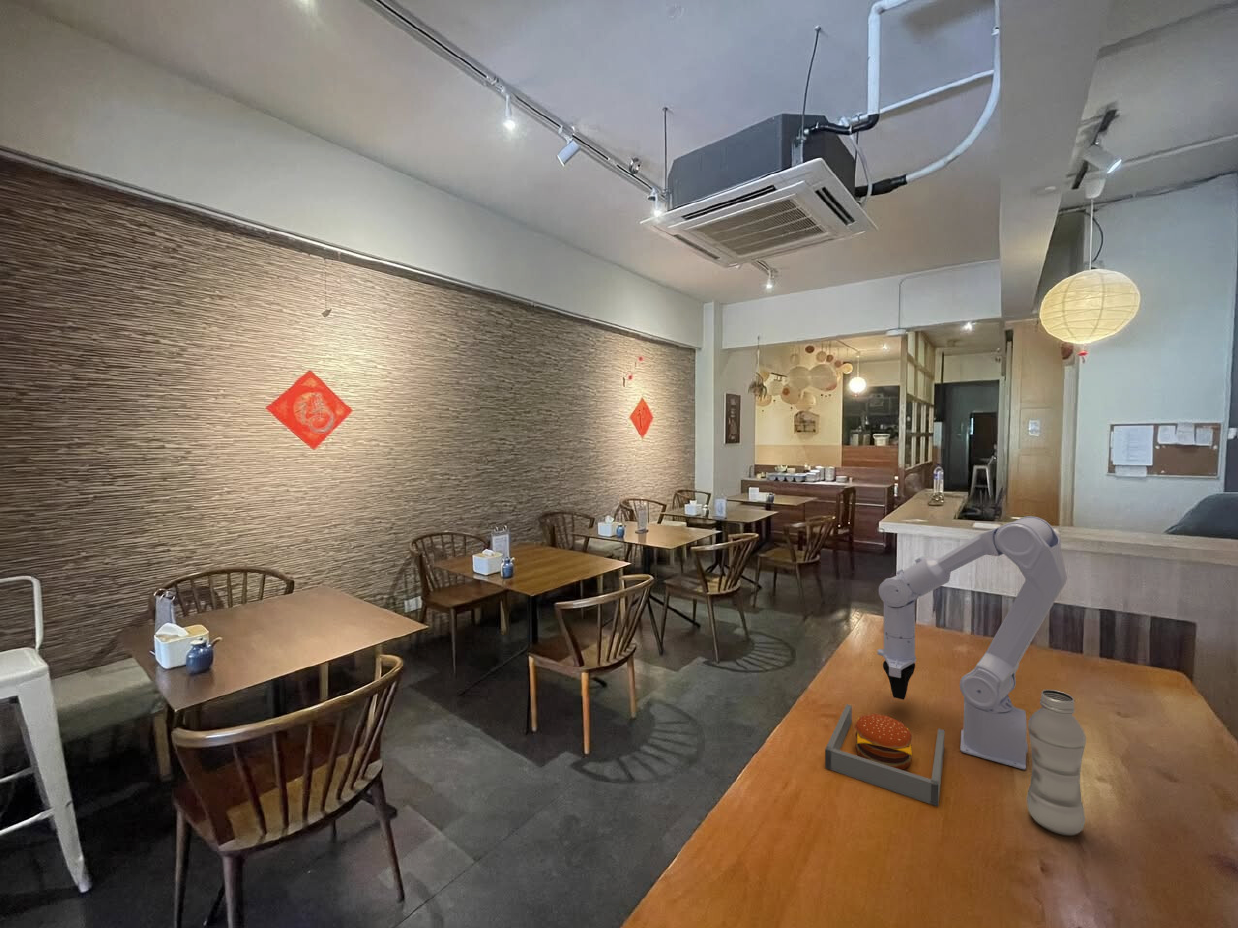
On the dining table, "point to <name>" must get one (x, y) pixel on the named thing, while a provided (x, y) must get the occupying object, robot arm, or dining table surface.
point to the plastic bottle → (1056, 765)
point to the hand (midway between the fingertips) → (899, 697)
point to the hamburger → (883, 740)
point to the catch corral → (883, 766)
